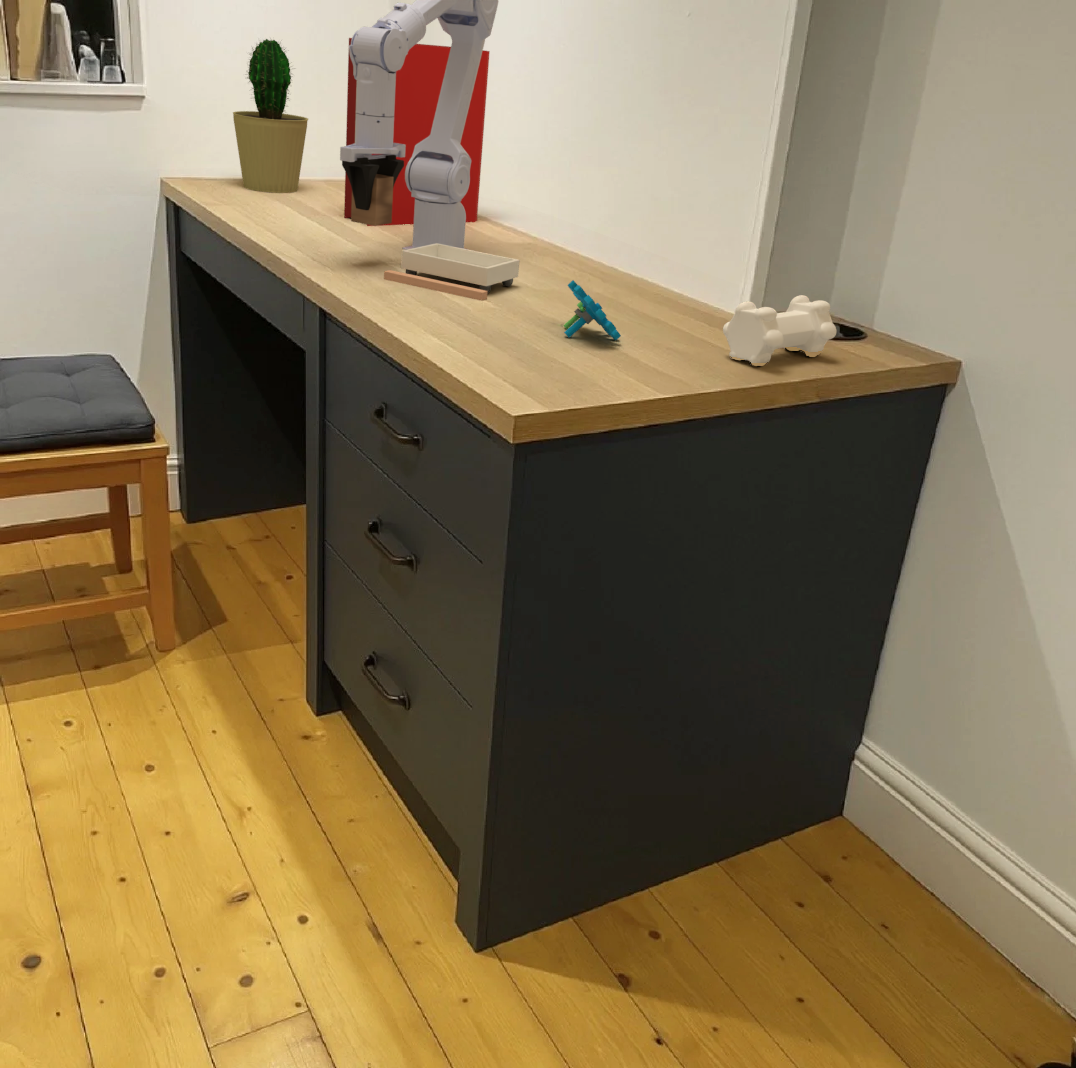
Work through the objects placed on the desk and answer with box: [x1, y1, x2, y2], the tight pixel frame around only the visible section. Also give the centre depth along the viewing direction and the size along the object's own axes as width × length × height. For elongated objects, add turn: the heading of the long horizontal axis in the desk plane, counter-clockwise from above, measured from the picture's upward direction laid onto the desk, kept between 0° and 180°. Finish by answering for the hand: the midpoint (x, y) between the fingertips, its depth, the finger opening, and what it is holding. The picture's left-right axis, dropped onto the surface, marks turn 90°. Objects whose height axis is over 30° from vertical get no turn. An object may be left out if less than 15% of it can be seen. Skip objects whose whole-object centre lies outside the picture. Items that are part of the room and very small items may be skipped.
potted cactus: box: [232, 37, 309, 194], centre depth 231 cm, size 15×15×30 cm
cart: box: [400, 243, 521, 295], centre depth 170 cm, size 10×15×4 cm, turn 63°
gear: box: [563, 279, 622, 341], centre depth 148 cm, size 11×6×10 cm
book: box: [343, 37, 490, 227], centre depth 213 cm, size 27×8×32 cm, turn 131°
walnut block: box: [350, 174, 394, 227], centre depth 171 cm, size 4×4×7 cm
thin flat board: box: [383, 269, 488, 301], centre depth 173 cm, size 23×17×2 cm
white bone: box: [722, 294, 837, 364], centre depth 148 cm, size 15×9×8 cm, turn 131°
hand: (371, 207), depth 172 cm, fingers closed on walnut block, 4 cm apart
